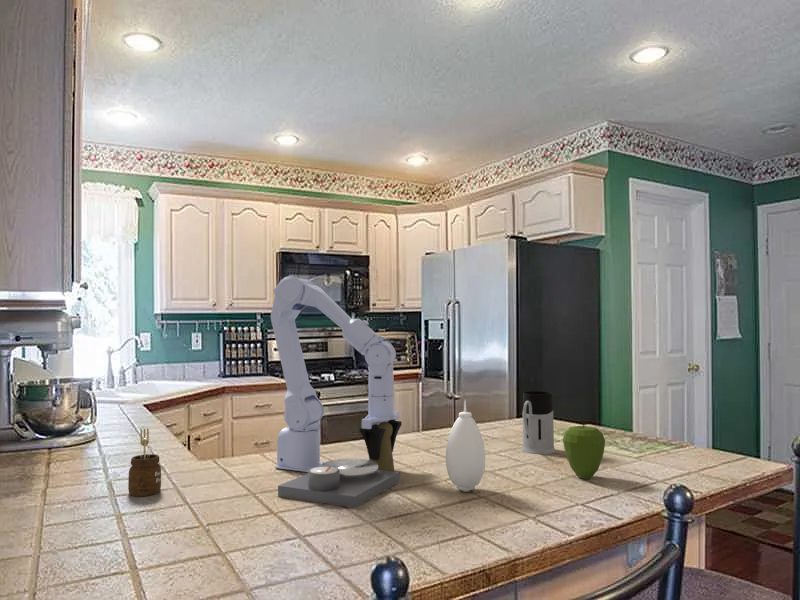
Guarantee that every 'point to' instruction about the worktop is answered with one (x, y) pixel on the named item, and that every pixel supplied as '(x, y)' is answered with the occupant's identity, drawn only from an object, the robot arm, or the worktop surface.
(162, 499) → the worktop surface
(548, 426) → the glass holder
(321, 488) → the scale base
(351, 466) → the scale pan
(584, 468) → the apple
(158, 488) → the utensil holder
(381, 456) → the pepper mill
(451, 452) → the air blower bulb
